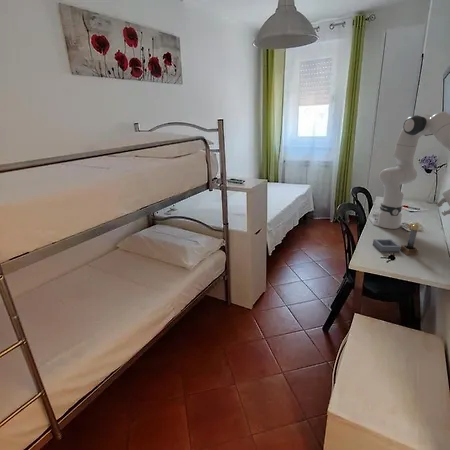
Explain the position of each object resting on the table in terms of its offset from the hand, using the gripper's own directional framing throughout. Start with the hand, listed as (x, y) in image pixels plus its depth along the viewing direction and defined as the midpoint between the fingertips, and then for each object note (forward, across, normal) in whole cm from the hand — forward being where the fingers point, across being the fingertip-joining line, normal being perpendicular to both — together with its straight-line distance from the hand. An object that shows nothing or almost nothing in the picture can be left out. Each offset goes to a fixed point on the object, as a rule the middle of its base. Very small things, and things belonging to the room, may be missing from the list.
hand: (439, 209), depth 157 cm
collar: (+24, +8, +8) cm, 27 cm away
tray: (+32, +6, 0) cm, 32 cm away
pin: (+24, +8, +8) cm, 27 cm away
